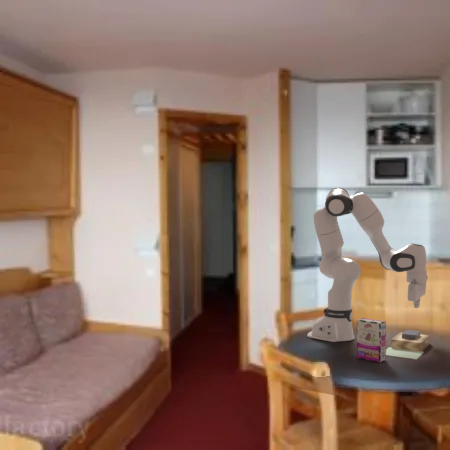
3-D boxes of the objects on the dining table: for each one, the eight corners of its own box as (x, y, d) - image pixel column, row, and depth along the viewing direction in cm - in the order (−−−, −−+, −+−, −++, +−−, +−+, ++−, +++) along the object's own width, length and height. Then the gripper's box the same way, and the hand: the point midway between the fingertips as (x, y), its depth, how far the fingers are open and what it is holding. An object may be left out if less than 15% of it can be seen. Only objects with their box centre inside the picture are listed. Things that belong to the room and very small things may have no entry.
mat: (380, 354, 236) (380, 354, 236) (389, 347, 247) (389, 347, 247) (416, 359, 229) (416, 359, 229) (423, 352, 240) (423, 351, 240)
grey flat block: (401, 338, 249) (401, 333, 249) (406, 334, 256) (406, 329, 256) (415, 339, 246) (415, 335, 246) (420, 335, 253) (420, 331, 253)
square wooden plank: (391, 348, 247) (391, 339, 247) (400, 340, 261) (400, 332, 260) (421, 352, 240) (421, 343, 240) (429, 344, 254) (429, 335, 254)
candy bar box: (386, 360, 228) (386, 321, 227) (380, 363, 224) (380, 323, 224) (362, 355, 236) (362, 317, 235) (356, 357, 232) (356, 319, 231)
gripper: (418, 281, 247) (418, 312, 248) (428, 275, 265) (428, 304, 265) (403, 280, 251) (404, 311, 251) (414, 274, 268) (415, 303, 269)
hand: (416, 307), depth 259 cm, fingers closed
